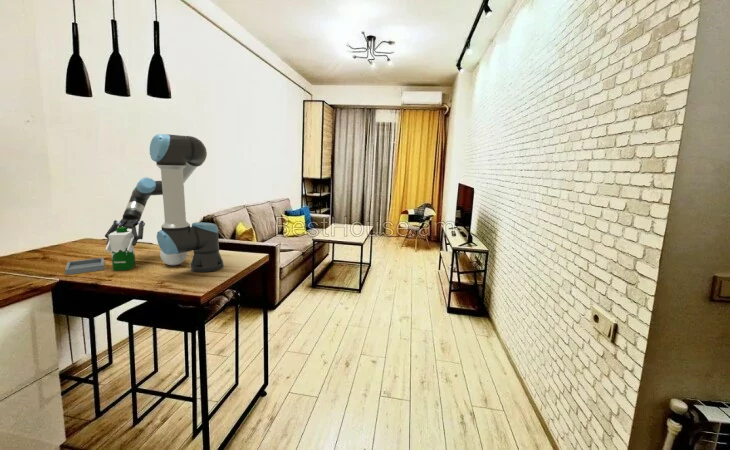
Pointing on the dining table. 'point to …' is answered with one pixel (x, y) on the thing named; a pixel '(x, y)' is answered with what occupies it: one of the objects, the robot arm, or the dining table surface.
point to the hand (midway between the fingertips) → (118, 250)
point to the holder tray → (84, 266)
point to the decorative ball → (173, 258)
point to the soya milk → (121, 249)
